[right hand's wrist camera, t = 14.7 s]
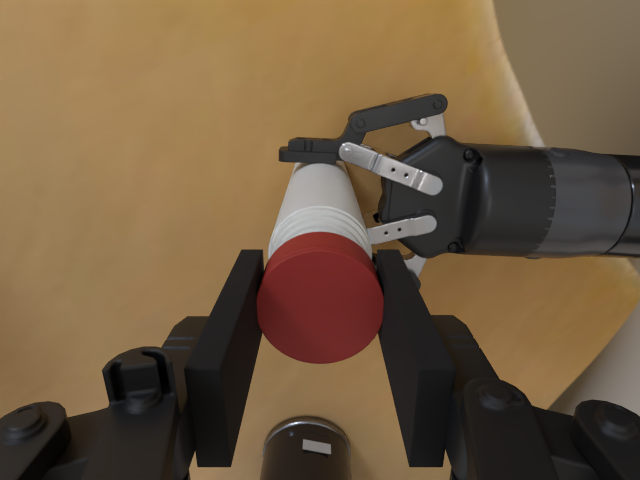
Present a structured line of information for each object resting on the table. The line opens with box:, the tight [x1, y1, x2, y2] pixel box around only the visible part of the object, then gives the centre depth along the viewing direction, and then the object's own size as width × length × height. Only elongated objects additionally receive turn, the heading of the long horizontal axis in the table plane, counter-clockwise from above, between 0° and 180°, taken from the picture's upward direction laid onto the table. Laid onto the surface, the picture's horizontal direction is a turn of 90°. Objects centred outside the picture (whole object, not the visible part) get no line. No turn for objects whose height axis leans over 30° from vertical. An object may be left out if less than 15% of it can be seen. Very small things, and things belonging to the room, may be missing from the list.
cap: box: [256, 232, 384, 364], centre depth 14 cm, size 4×4×2 cm
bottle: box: [268, 161, 372, 260], centre depth 24 cm, size 4×4×22 cm
